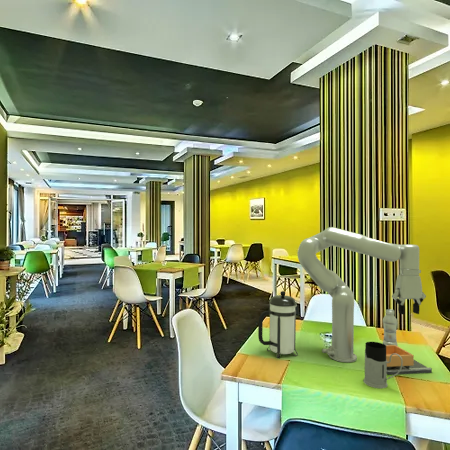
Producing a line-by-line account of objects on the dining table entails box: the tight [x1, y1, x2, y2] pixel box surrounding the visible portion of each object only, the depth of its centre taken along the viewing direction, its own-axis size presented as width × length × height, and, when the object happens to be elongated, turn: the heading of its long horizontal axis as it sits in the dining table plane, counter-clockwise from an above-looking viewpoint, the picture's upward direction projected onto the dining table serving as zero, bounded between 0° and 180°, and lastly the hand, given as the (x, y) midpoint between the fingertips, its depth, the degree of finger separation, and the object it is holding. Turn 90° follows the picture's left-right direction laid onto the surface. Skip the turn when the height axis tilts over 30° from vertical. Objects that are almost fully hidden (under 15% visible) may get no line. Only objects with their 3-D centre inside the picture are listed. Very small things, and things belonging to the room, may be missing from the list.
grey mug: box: [363, 341, 403, 389], centre depth 129 cm, size 9×14×15 cm, turn 43°
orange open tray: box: [386, 345, 415, 369], centre depth 145 cm, size 12×12×6 cm
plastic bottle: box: [382, 308, 399, 347], centre depth 165 cm, size 6×7×20 cm
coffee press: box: [257, 290, 299, 359], centre depth 159 cm, size 17×16×30 cm
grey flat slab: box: [387, 359, 433, 376], centre depth 146 cm, size 20×13×2 cm, turn 97°
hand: (408, 313), depth 146 cm, fingers open, 6 cm apart
